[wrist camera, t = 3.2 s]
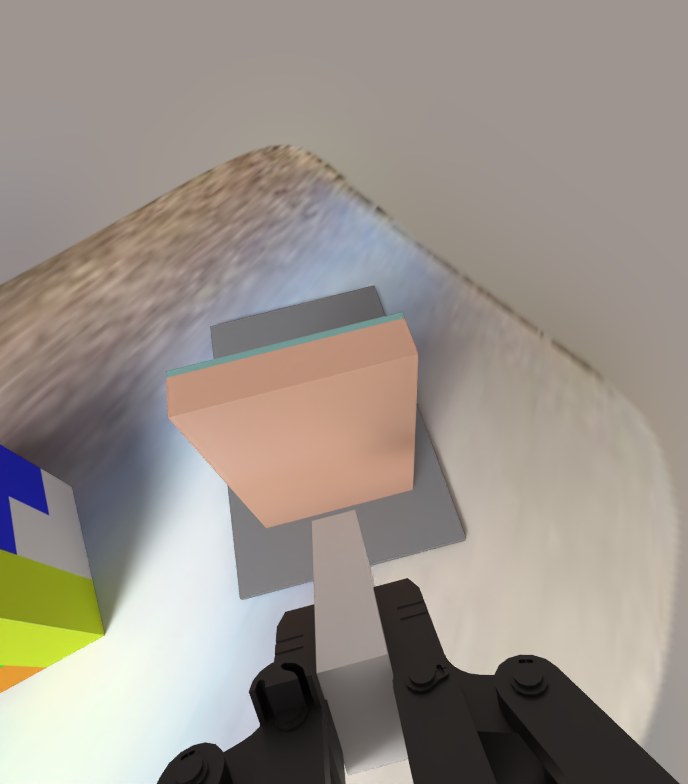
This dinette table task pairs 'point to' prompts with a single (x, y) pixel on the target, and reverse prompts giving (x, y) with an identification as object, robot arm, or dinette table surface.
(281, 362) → the tile
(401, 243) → the dinette table surface
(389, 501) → the mat
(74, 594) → the puzzle toy
